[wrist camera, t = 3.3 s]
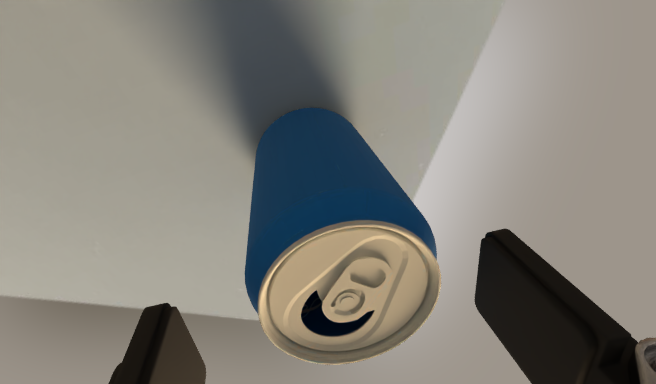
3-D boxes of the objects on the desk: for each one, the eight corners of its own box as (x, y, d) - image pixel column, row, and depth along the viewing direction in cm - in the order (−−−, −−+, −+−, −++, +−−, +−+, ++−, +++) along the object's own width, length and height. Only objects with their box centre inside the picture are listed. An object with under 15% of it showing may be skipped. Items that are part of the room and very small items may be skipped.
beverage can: (238, 178, 20) (205, 348, 10) (287, 83, 18) (311, 170, 8) (328, 217, 23) (378, 388, 12) (380, 136, 21) (496, 258, 10)
